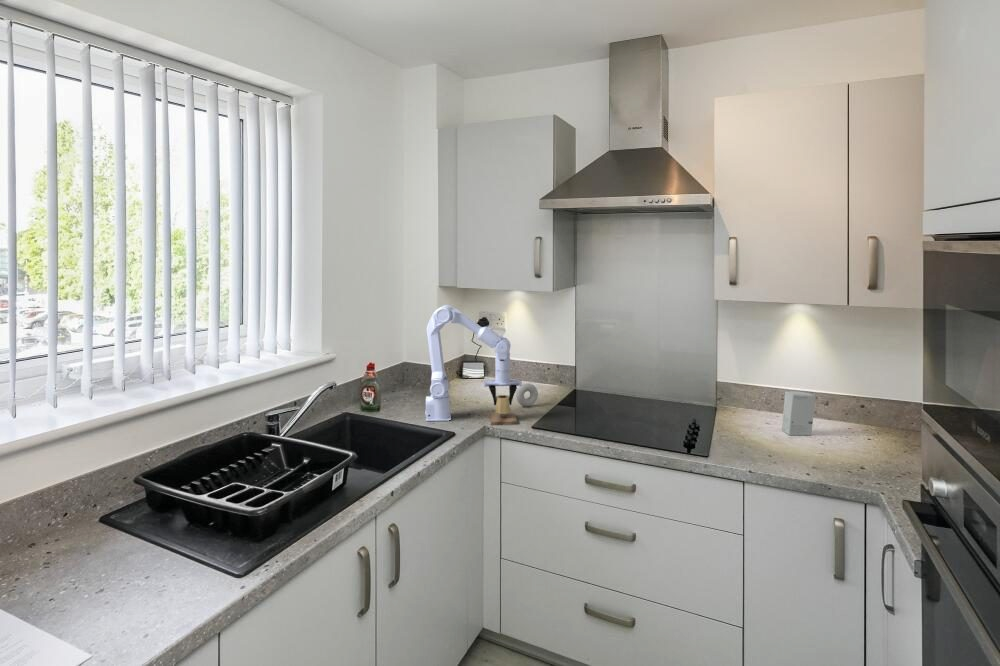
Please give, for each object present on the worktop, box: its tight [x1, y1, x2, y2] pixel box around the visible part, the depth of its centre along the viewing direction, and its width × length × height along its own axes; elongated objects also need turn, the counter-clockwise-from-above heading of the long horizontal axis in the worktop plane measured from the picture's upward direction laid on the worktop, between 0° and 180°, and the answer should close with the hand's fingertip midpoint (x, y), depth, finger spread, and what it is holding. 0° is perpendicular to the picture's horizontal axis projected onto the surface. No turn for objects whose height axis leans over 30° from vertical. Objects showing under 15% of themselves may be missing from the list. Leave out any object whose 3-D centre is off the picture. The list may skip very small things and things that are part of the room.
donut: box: [515, 382, 539, 407], centre depth 235 cm, size 10×4×10 cm, turn 113°
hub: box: [495, 394, 511, 414], centre depth 216 cm, size 5×5×6 cm
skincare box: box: [781, 390, 816, 436], centre depth 200 cm, size 8×6×15 cm
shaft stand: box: [488, 411, 518, 426], centre depth 216 cm, size 10×13×6 cm
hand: (502, 404), depth 216 cm, fingers closed on hub, 5 cm apart
